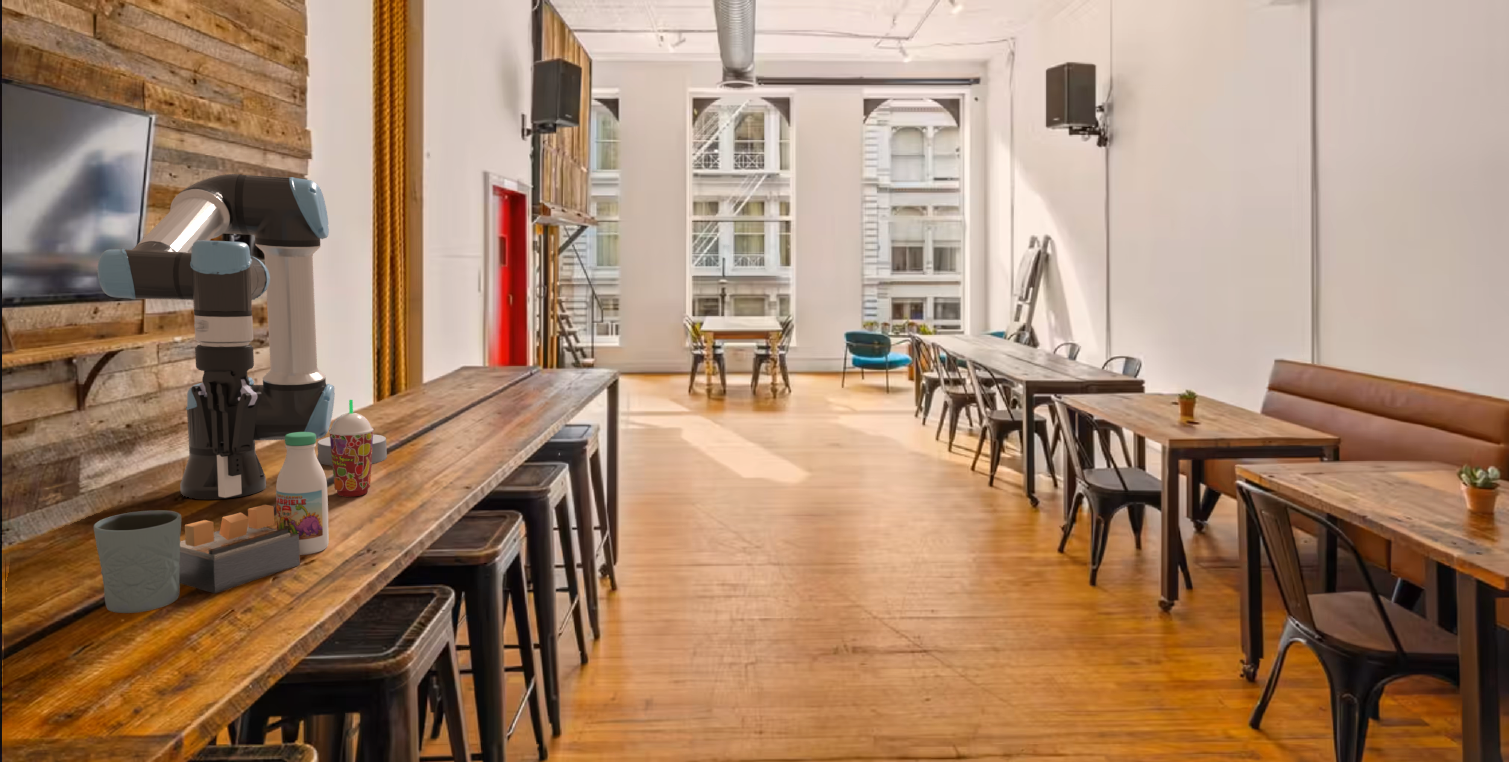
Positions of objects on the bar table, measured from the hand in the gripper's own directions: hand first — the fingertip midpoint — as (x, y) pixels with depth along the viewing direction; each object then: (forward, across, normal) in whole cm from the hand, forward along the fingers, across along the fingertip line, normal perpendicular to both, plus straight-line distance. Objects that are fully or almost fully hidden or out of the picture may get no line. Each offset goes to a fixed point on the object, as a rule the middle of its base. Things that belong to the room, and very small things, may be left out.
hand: (230, 495), depth 132 cm
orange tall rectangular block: (+7, 0, -5) cm, 9 cm away
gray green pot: (+13, 0, -13) cm, 18 cm away
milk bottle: (+13, 0, +13) cm, 18 cm away
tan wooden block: (+7, 0, +5) cm, 9 cm away
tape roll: (+13, -46, +63) cm, 79 cm away
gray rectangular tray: (+12, 0, 0) cm, 12 cm away
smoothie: (+12, -21, +41) cm, 48 cm away
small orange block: (+7, 0, 0) cm, 7 cm away
